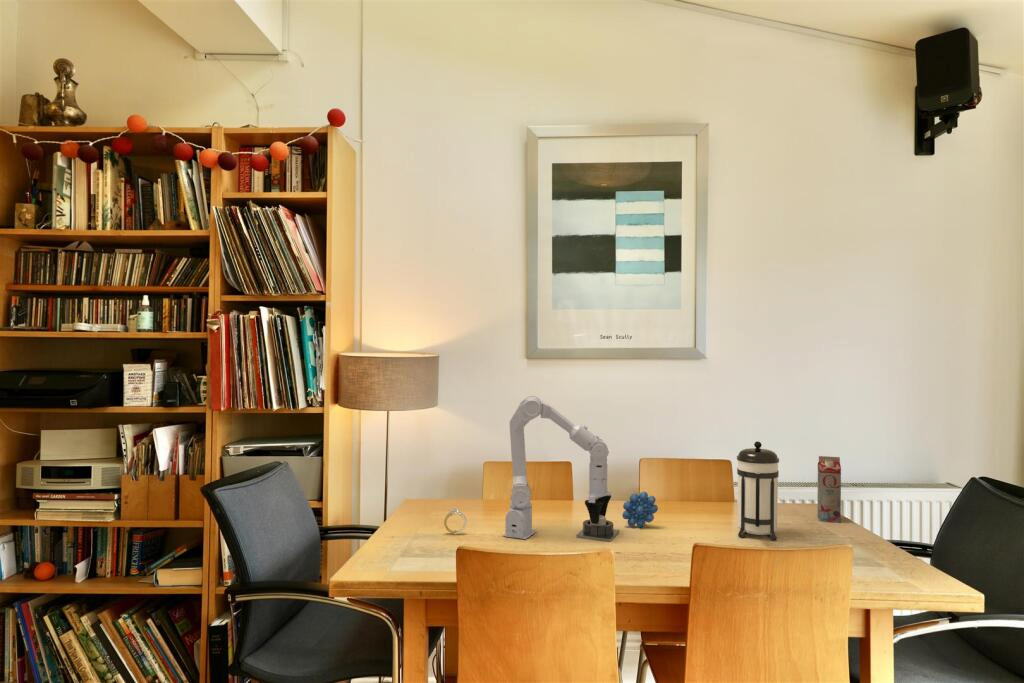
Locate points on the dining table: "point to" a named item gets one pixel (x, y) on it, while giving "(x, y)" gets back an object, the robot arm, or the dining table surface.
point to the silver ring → (451, 515)
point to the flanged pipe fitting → (598, 531)
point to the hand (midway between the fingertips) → (598, 520)
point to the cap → (600, 521)
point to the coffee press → (757, 491)
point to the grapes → (639, 509)
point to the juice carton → (829, 489)
